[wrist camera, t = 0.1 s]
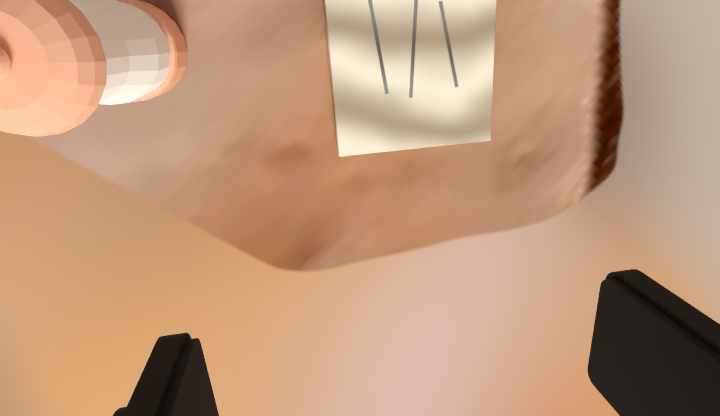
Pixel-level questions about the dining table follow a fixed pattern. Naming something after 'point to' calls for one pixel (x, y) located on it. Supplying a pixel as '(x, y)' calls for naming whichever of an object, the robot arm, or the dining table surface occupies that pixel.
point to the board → (410, 72)
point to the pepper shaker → (82, 60)
